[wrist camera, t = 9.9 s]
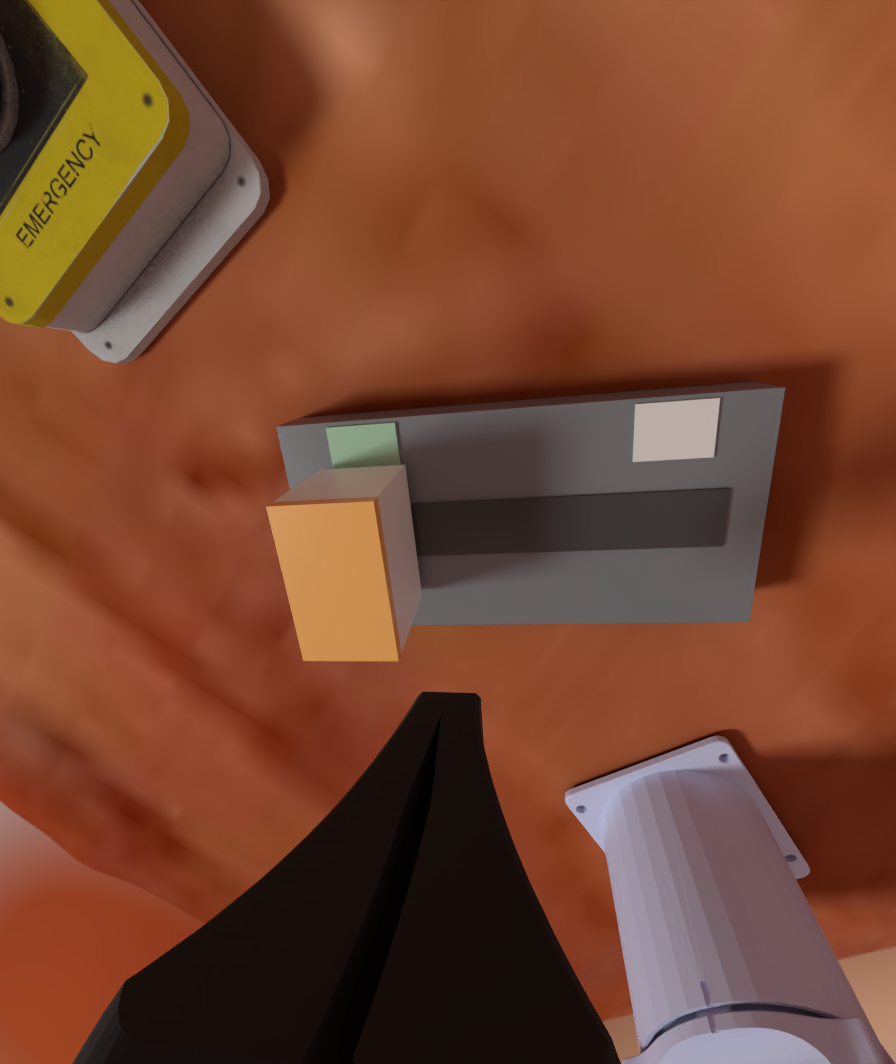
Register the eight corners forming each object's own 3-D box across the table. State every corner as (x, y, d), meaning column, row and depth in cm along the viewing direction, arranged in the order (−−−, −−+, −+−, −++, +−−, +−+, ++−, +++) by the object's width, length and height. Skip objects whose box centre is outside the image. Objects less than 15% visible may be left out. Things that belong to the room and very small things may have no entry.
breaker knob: (405, 464, 16) (373, 501, 13) (422, 596, 18) (398, 661, 14) (320, 469, 17) (265, 506, 13) (344, 597, 18) (303, 661, 15)
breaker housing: (754, 381, 16) (787, 387, 14) (726, 594, 19) (750, 623, 17) (300, 417, 19) (274, 427, 17) (337, 601, 21) (319, 627, 19)
